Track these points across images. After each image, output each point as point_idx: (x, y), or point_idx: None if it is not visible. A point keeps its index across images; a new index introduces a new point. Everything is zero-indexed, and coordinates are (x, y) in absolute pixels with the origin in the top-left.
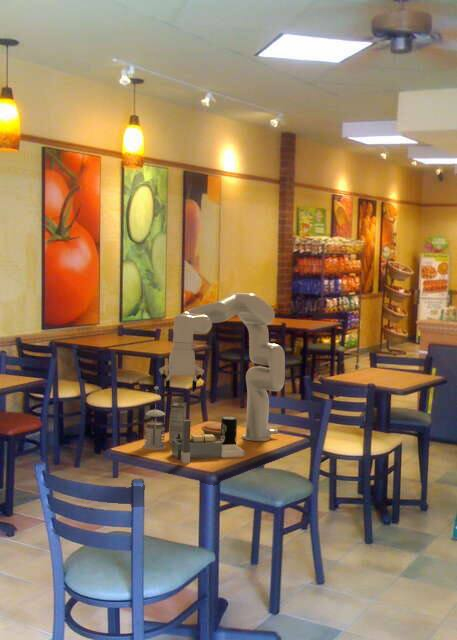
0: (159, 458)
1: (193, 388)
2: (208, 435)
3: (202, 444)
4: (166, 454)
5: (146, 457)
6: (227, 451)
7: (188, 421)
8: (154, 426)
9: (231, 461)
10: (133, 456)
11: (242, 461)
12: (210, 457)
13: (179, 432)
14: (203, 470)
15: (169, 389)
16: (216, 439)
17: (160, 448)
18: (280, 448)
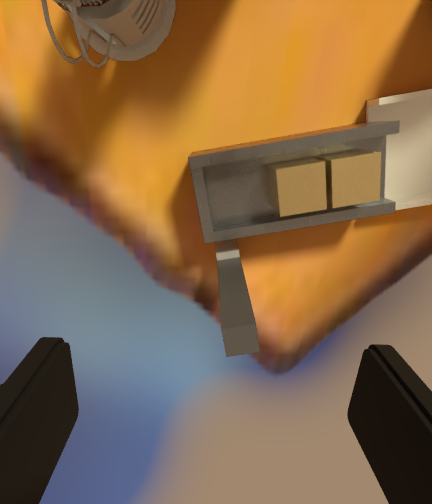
0: (144, 208)
1: (370, 455)
2: (356, 180)
3: (306, 225)
4: (171, 149)
5: (97, 194)
6: (395, 209)
7: (247, 351)
8: None
9: (379, 250)
10: (49, 179)
11: (415, 250)
12: None
13: None
14: (266, 339)
15: (71, 429)
16: (395, 132)
17: (148, 50)
18: None
